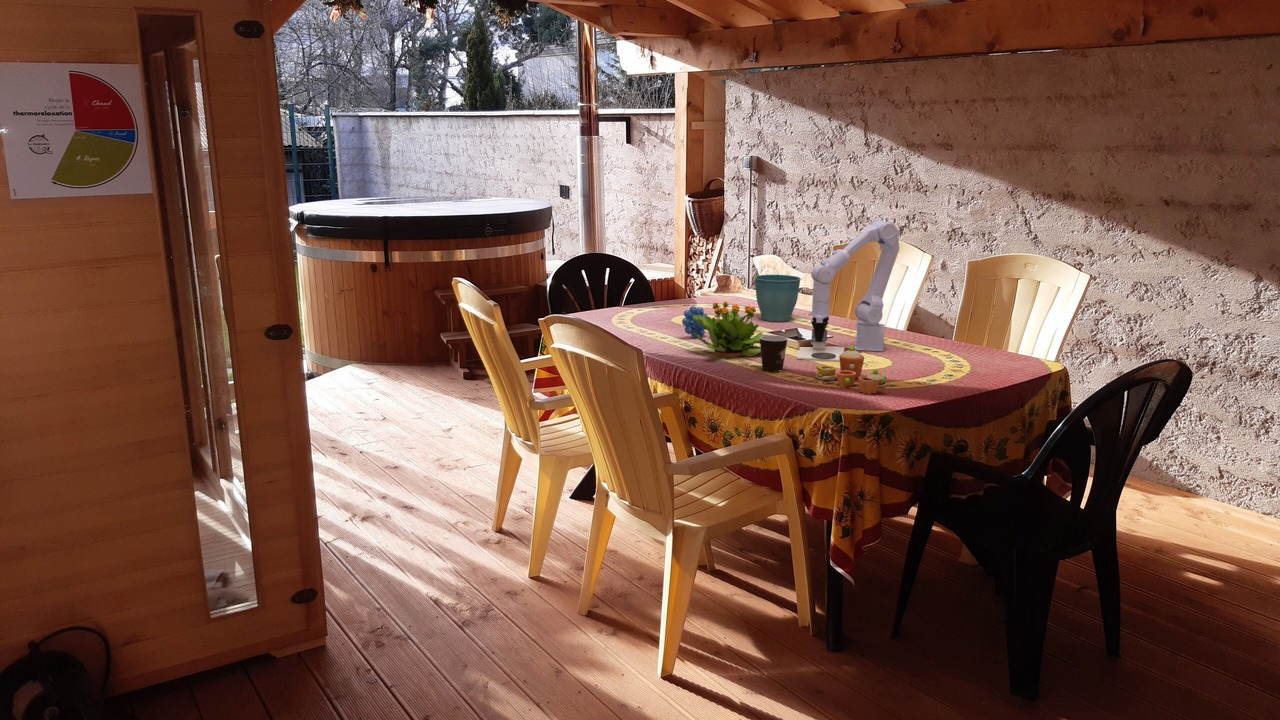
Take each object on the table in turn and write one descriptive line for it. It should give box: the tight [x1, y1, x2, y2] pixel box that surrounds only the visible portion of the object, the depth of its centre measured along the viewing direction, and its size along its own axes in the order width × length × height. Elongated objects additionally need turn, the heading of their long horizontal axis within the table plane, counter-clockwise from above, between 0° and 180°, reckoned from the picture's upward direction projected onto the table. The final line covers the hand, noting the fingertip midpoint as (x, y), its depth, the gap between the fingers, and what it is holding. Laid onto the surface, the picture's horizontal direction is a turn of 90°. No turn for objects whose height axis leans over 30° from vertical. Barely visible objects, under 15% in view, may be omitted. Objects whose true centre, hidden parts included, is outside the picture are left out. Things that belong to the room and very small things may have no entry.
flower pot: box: [754, 274, 802, 323], centre depth 377 cm, size 18×18×17 cm
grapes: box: [681, 305, 708, 339], centre depth 342 cm, size 12×7×12 cm, turn 123°
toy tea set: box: [814, 346, 888, 394], centre depth 282 cm, size 26×16×10 cm, turn 28°
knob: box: [811, 328, 828, 343], centre depth 323 cm, size 5×5×4 cm
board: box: [796, 341, 845, 363], centre depth 319 cm, size 15×20×4 cm
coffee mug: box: [759, 334, 788, 372], centre depth 299 cm, size 12×9×10 cm
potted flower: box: [692, 300, 768, 358], centre depth 317 cm, size 25×24×18 cm
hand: (819, 339), depth 324 cm, fingers closed on knob, 5 cm apart
